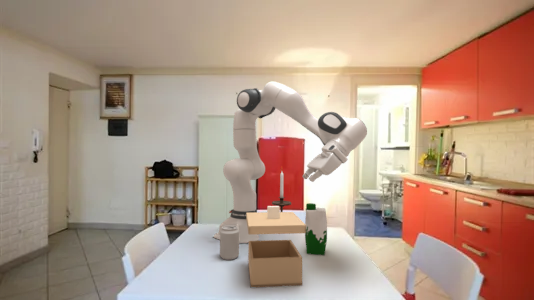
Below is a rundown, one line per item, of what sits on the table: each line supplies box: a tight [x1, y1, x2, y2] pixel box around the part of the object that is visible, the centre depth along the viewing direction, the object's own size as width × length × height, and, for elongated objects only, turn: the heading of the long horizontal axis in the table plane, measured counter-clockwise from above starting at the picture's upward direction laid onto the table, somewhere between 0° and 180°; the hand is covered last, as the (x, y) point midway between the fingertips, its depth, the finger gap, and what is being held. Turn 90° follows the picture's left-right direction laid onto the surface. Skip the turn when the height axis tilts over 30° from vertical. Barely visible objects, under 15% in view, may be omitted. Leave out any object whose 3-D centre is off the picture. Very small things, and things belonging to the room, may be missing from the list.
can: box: [219, 225, 240, 261], centre depth 107 cm, size 8×8×12 cm
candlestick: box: [271, 165, 292, 212], centre depth 152 cm, size 11×11×35 cm
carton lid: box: [246, 205, 306, 235], centre depth 92 cm, size 18×20×6 cm
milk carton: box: [304, 202, 328, 256], centre depth 114 cm, size 9×9×20 cm
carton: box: [247, 239, 303, 288], centre depth 92 cm, size 16×18×9 cm
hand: (306, 179), depth 100 cm, fingers open, 8 cm apart
